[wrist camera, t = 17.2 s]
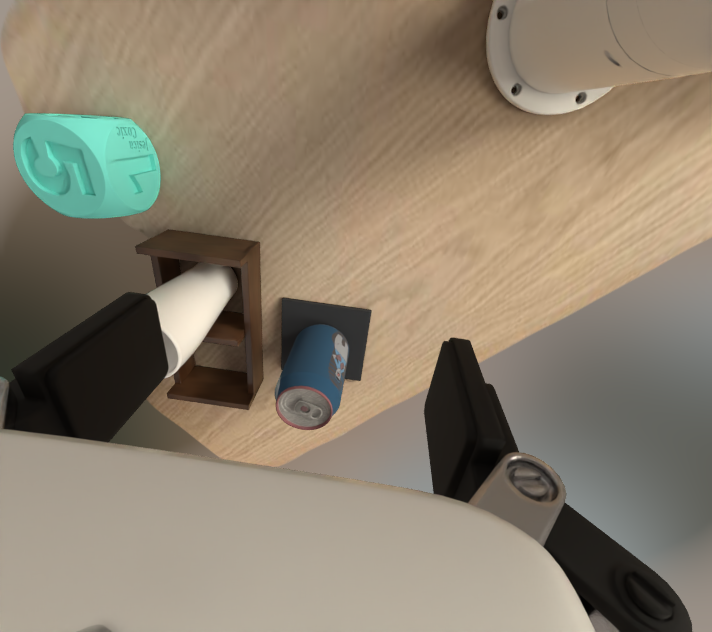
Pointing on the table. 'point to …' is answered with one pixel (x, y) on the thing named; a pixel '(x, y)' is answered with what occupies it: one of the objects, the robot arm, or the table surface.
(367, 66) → the table surface
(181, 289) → the white tall tumbler
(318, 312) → the coaster
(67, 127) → the decorative dice
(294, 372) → the soda can
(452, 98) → the table surface
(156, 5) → the table surface
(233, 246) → the drinks rack
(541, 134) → the table surface
